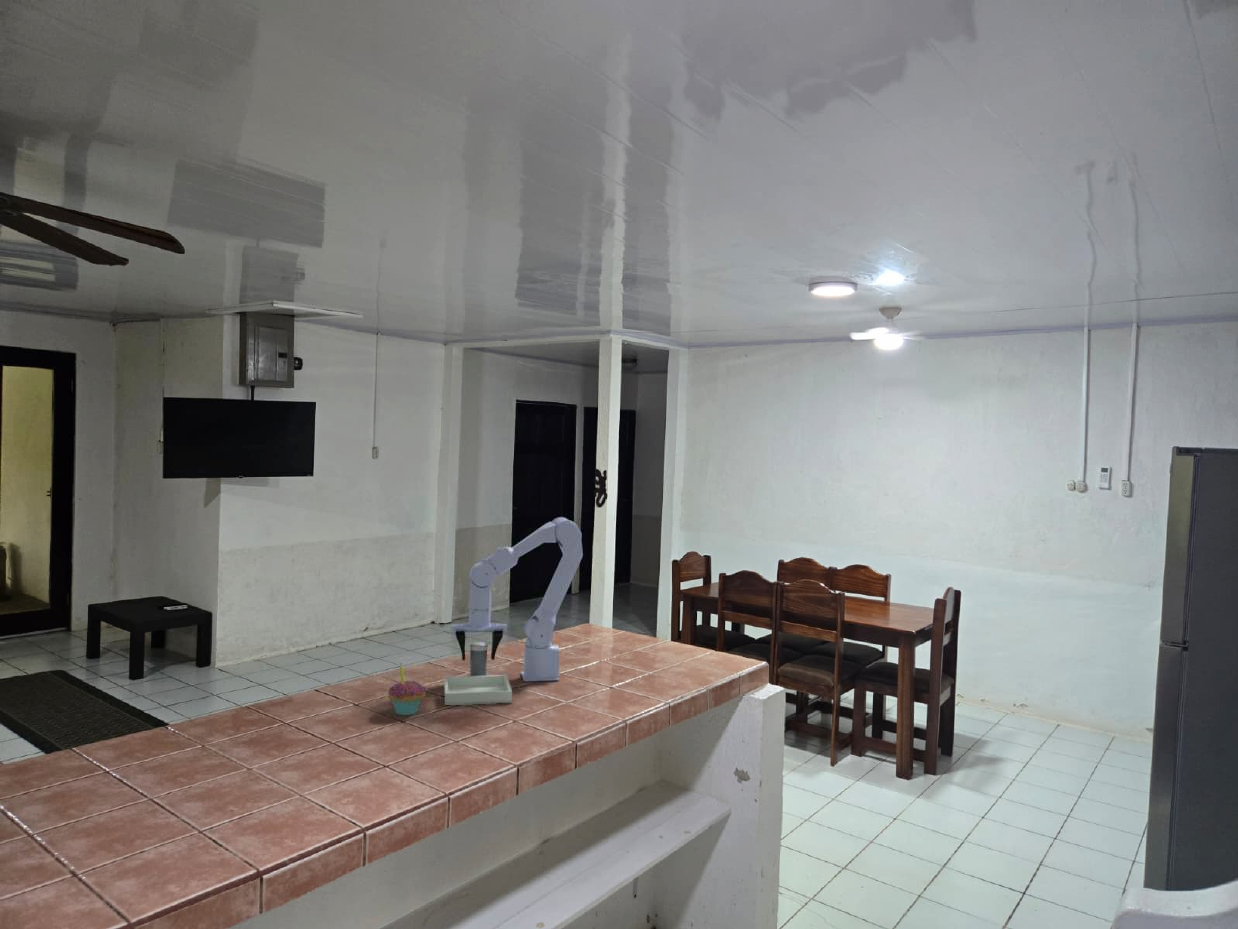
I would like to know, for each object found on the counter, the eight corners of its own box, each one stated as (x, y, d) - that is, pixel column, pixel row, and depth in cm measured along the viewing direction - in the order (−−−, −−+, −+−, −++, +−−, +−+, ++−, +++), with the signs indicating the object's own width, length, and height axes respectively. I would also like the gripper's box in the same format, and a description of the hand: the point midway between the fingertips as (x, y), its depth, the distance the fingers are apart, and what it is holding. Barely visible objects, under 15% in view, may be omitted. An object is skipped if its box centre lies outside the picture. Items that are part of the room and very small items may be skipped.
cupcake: (402, 720, 187) (404, 668, 186) (379, 712, 192) (381, 661, 191) (432, 711, 193) (434, 661, 193) (409, 703, 199) (410, 654, 198)
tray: (506, 686, 215) (506, 674, 215) (511, 703, 201) (512, 691, 201) (443, 688, 211) (444, 676, 211) (445, 706, 198) (445, 693, 198)
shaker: (485, 677, 222) (487, 642, 222) (487, 682, 217) (488, 646, 217) (468, 678, 221) (469, 642, 221) (469, 683, 216) (470, 646, 216)
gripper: (452, 611, 213) (450, 663, 213) (508, 611, 216) (506, 662, 217) (451, 606, 220) (450, 656, 220) (506, 606, 223) (504, 655, 224)
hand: (478, 659), depth 219 cm, fingers open, 7 cm apart
